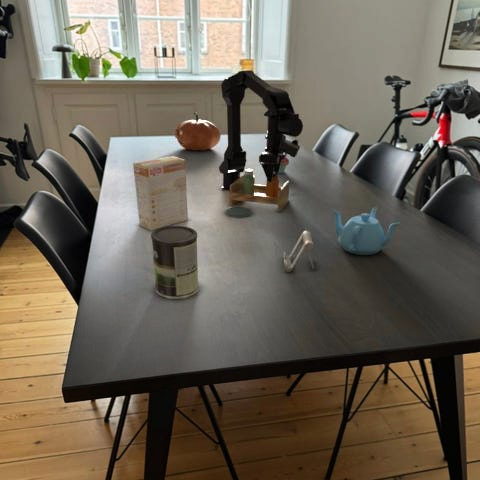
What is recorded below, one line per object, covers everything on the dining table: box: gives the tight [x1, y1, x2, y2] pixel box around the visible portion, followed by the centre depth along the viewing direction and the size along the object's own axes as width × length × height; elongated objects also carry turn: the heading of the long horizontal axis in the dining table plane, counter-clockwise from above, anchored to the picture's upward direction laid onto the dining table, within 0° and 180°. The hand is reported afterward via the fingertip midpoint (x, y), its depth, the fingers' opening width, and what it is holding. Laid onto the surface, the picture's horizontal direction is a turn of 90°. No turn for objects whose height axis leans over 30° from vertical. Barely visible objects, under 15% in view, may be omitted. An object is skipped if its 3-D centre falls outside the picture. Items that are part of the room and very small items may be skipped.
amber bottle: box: [266, 171, 280, 197], centre depth 164 cm, size 4×4×8 cm
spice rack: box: [229, 175, 291, 213], centre depth 167 cm, size 19×14×8 cm
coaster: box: [225, 206, 253, 218], centre depth 159 cm, size 9×9×1 cm
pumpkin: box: [174, 111, 222, 152], centre depth 245 cm, size 25×25×19 cm
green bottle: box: [242, 168, 256, 194], centre depth 166 cm, size 4×4×8 cm
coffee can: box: [150, 225, 199, 300], centre depth 106 cm, size 10×10×14 cm
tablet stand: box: [282, 230, 315, 273], centre depth 121 cm, size 9×8×8 cm
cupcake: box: [278, 156, 290, 174], centre depth 206 cm, size 9×8×12 cm
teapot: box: [331, 206, 402, 256], centre depth 132 cm, size 15×15×10 cm
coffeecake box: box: [132, 155, 189, 231], centre depth 144 cm, size 15×7×20 cm, turn 134°
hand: (272, 178), depth 163 cm, fingers open, 9 cm apart
